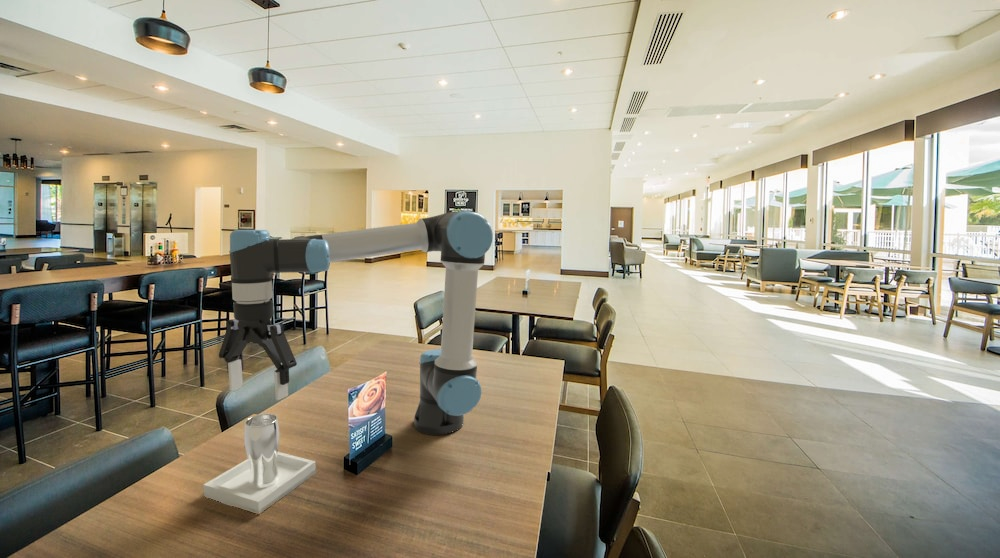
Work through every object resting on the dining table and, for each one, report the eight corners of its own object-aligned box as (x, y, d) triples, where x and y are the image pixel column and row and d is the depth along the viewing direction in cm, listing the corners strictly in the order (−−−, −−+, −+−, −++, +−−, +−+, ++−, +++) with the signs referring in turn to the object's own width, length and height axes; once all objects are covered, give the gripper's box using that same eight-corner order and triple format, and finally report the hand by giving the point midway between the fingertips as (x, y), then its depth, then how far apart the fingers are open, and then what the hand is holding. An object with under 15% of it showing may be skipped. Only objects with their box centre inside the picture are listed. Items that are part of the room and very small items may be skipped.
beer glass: (265, 492, 92) (262, 429, 90) (239, 487, 94) (235, 424, 92) (287, 474, 99) (285, 415, 97) (262, 470, 100) (259, 411, 98)
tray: (316, 472, 102) (315, 461, 101) (259, 515, 87) (258, 502, 86) (266, 459, 107) (265, 448, 106) (204, 497, 92) (203, 484, 91)
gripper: (311, 302, 90) (315, 395, 93) (227, 293, 98) (233, 379, 101) (283, 308, 83) (288, 408, 86) (195, 298, 91) (202, 390, 94)
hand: (258, 393), depth 94 cm, fingers open, 13 cm apart
